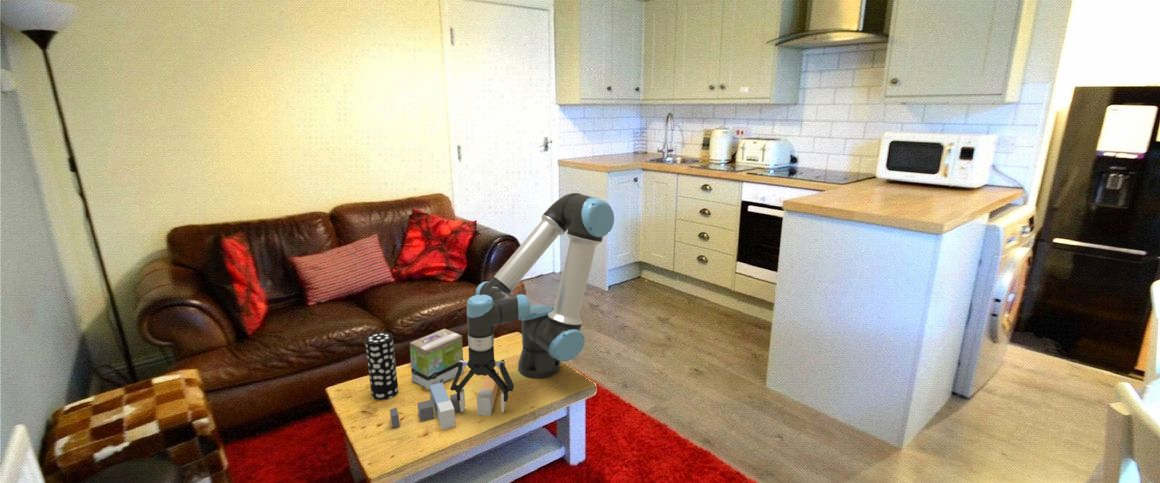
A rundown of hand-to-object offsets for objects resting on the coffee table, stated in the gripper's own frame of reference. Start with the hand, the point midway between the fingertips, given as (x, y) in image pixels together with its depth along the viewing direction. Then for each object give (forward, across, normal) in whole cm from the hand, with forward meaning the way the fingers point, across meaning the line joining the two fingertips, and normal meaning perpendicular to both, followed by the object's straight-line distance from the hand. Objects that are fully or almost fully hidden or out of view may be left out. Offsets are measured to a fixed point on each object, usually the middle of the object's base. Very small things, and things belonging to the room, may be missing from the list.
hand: (483, 409), depth 164 cm
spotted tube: (+1, -34, +10) cm, 36 cm away
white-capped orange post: (0, +1, +7) cm, 7 cm away
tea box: (+1, -19, +21) cm, 28 cm away
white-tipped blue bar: (+1, -12, -1) cm, 12 cm away
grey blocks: (+1, -17, -3) cm, 17 cm away
